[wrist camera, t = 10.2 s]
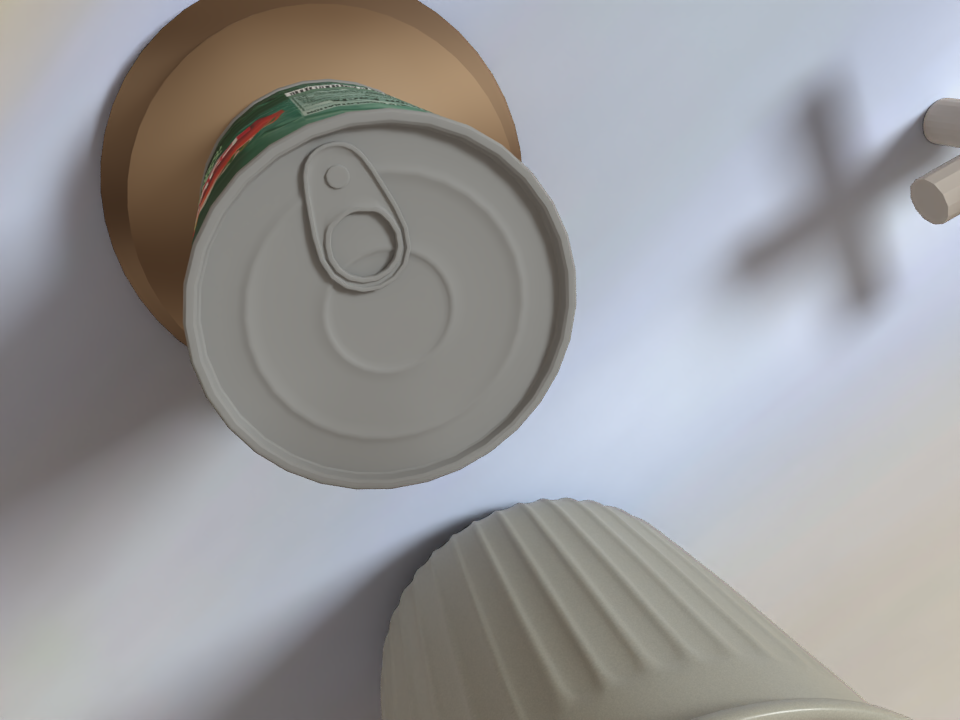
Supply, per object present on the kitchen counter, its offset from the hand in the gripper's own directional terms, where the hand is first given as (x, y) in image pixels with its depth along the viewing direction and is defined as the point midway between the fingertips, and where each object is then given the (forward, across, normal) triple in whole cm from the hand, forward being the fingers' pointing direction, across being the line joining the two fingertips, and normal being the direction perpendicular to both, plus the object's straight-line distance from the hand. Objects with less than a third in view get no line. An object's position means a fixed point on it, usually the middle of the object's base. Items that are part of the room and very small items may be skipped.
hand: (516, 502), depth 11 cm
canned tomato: (+19, 0, 0) cm, 19 cm away
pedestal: (+22, 0, 0) cm, 22 cm away
